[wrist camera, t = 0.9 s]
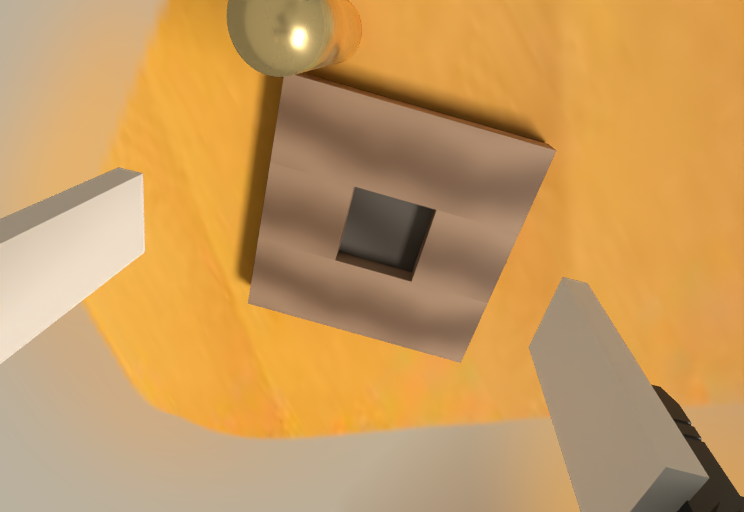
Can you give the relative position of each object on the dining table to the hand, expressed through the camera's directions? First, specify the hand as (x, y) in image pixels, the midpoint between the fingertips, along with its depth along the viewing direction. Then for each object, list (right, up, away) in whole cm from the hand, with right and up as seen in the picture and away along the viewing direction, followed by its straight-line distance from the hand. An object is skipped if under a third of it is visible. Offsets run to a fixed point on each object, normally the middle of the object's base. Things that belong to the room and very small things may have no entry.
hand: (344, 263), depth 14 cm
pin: (-2, +15, +15) cm, 21 cm away
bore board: (+2, +3, +20) cm, 20 cm away
